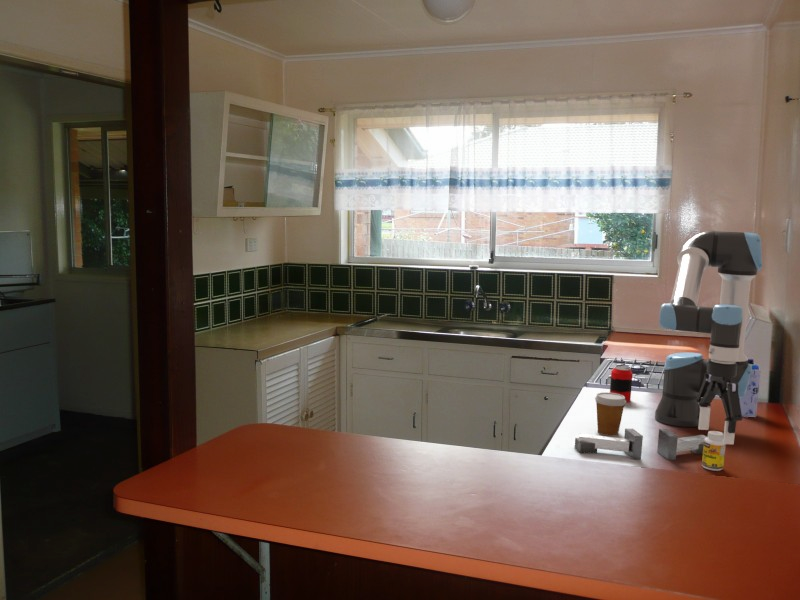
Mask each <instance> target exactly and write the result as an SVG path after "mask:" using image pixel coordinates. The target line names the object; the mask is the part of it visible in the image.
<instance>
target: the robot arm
mask: <svg viewBox="0 0 800 600" xmlns="http://www.w3.org/2000/svg"><path fill="white" fill-rule="evenodd" d="M676 262H677V265H678V268H677V272H676V276H675V282H674V284H673V290H672V293H671V294H672V295H671V298H670V302H668V303H665V302H663V303H662V304H661V306H660V309H659V319H658V321H659V326H660V327H661V329H666V330H672V331H679V332H680V331H681V332H691V333H693V332H694V333H701V334H710V339H709V348H708V358H704V356H703V354H702V353H699V352H698V353H697V352H691V351H689V352H688V351H687V352H676V353H671V354H669V355H667V356H666V358H665V362H664V363H665V364H664V366H663V370H664V371H663V372H664V373H663V380H662V381H663V382H662V395H661V398H660V400H659V403H658V405H657V407H656V408H655V413H654V419H655V420H656V421H658V422H659V423H661V424H666V425H669V426H674V427H684V428H693V427H697V428H698V430H699V431H700V430H701V431H704V430H705V431H710V430H709V427H710V417H711V408H712V407H711V406H712V405H711V403H712V402H713V400H715V397H716V396H718V397H719V399H721V402H722V406H723V409H724V413H725V416H726V418H724V428H723V444H726V445H735V444H734V443H735V438H736V437H735V435H736V427H737V422H740V421H742V420H743V417H742V414H741V408H740V401H739V398H742V397H744V395H745V393H746V390H747V387H748V383H749V379H750V374H751V370H752V365H751V364H749V363H748V359H749V357H747V356H746V354H745V353H744V351H745V342H746V334H747V332H746V330H747V324H748V323H747V321H748V311H749V301H750V293H751V292H750V291H751V283H752V281H753V279H754V278H756V277H757V274H758V272H759V271H762V270H763V253H762V238H761V236H760V235H759V234H758V233H754V232H753V233H752V232H746V231H743V232H742V231H719V230H706V231H702V232H700V233H697V234H695V235H693V236H692V237H690V238H689V239H688V240H686V241H685V243H684V244H683V245H682V246H681V248H680V249H679V250H678V255H677V259H676ZM708 267H712V268H717V274H718V275H719V276H720V277H721V285H720V287H721V288H720V297H719V304H715V305H714V306H713V307H711V306H710V307H709V306H702V305H701V306H699V305H698V303H699V297H700V292H701V288H702V287H701V286H702V281H703V276H704V271H705V270H706V269H707V268H708ZM737 415H738V416H737Z"/></svg>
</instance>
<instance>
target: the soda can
mask: <svg viewBox="0 0 800 600" xmlns="http://www.w3.org/2000/svg"><path fill="white" fill-rule="evenodd" d="M632 384H633V371H632V370H631V368H629V367H625V366H615V367H614V368H613V369H612V370H611V372H610V384H609V385H610V386H609V393H616V394H620V395H623V396H624V397H625V400H626V403H629V402H630V401H631V397H632V386H633V385H632Z"/></svg>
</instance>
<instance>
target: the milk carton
mask: <svg viewBox="0 0 800 600" xmlns="http://www.w3.org/2000/svg"><path fill="white" fill-rule="evenodd" d="M748 363H749V364H751V365H752V370H751V374H750V379H749V383H748V387H747V390H746V393H745V395H744V397H742V398H739V401H740V408H741V414H742V418H748V417H754V418H756V417H757V411H758V410H757V409H758V399H759V392H760V391H759V389H760V383H761V382H760V381H761V372H762V371H761V368H760V367H759V365H757V364H756V363H755V360H754V358H753V359H752V358H748ZM737 416H738V415H737Z"/></svg>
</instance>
